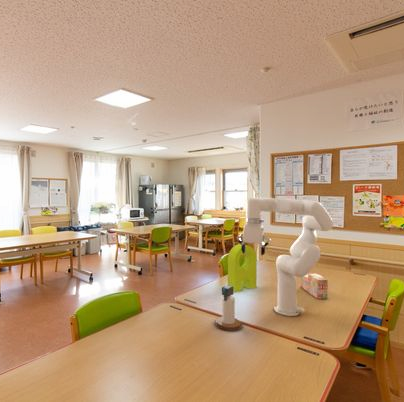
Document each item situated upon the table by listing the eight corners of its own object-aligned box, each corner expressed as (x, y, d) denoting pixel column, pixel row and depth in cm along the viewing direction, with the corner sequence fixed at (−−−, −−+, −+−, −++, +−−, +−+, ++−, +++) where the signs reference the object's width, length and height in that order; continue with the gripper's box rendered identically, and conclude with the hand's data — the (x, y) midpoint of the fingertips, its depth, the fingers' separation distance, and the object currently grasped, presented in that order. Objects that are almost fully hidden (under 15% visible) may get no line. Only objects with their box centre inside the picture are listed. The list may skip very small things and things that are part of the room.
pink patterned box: (300, 287, 201) (301, 269, 201) (309, 287, 201) (310, 269, 201) (317, 298, 180) (317, 279, 179) (327, 299, 180) (327, 279, 179)
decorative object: (234, 292, 192) (234, 247, 191) (227, 289, 198) (227, 245, 197) (256, 287, 202) (256, 244, 200) (249, 284, 207) (249, 242, 206)
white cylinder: (224, 315, 154) (224, 281, 153) (244, 323, 146) (244, 286, 145) (211, 323, 146) (212, 286, 145) (232, 331, 137) (232, 292, 137)
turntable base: (244, 323, 148) (244, 321, 148) (237, 333, 137) (237, 331, 137) (220, 317, 155) (220, 315, 155) (211, 326, 144) (211, 324, 144)
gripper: (272, 221, 150) (271, 254, 151) (239, 219, 160) (238, 250, 160) (269, 223, 144) (268, 257, 145) (234, 221, 153) (234, 253, 154)
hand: (253, 253), depth 153 cm, fingers open, 9 cm apart
